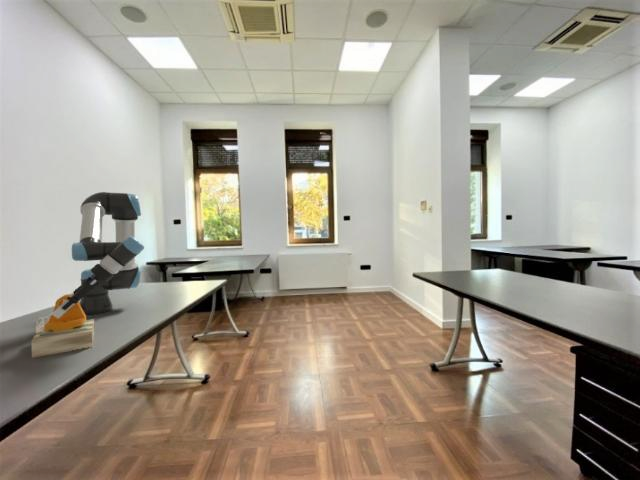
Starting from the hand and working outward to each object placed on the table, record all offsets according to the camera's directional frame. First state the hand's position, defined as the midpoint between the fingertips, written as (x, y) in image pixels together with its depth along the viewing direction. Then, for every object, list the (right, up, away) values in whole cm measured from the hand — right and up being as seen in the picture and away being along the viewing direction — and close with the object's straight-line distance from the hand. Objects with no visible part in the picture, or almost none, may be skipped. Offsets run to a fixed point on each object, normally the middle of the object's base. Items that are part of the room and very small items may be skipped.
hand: (57, 312), depth 108 cm
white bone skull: (-14, -13, +14) cm, 24 cm away
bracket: (+2, -6, +1) cm, 7 cm away
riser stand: (+2, -13, +2) cm, 13 cm away
